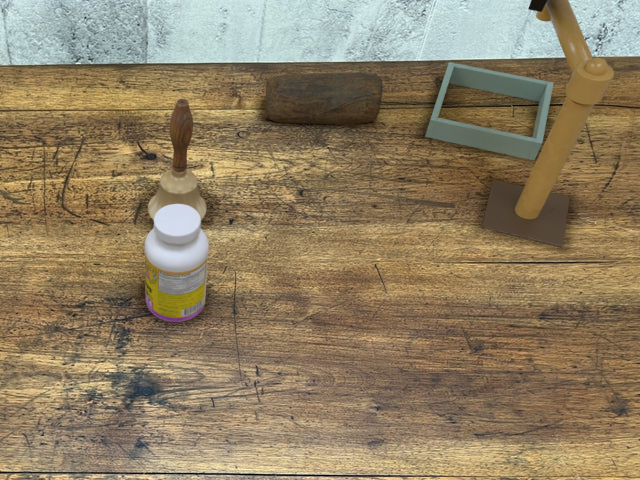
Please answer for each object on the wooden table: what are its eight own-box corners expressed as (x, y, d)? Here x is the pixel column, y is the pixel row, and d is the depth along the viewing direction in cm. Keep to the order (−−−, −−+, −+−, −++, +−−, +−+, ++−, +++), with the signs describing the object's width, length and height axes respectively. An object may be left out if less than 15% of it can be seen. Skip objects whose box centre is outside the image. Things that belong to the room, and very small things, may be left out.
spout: (600, 115, 84) (624, 70, 80) (564, 114, 84) (586, 69, 80) (558, 12, 96) (577, -33, 91) (526, 11, 96) (543, -33, 92)
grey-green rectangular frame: (543, 105, 111) (553, 82, 108) (531, 166, 104) (542, 143, 101) (441, 85, 114) (449, 61, 111) (422, 142, 107) (430, 119, 104)
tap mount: (566, 204, 99) (631, 81, 86) (558, 253, 95) (626, 132, 81) (489, 186, 102) (541, 64, 88) (478, 234, 97) (531, 112, 83)
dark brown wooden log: (368, 102, 112) (379, 57, 107) (377, 134, 108) (389, 89, 103) (259, 104, 113) (264, 60, 107) (264, 136, 109) (270, 92, 103)
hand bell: (218, 198, 102) (227, 84, 89) (201, 243, 97) (208, 130, 84) (154, 186, 103) (154, 73, 90) (134, 230, 99) (131, 117, 86)
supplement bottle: (151, 279, 94) (151, 192, 83) (208, 287, 93) (215, 200, 83) (140, 323, 90) (138, 237, 80) (199, 331, 89) (205, 246, 79)
